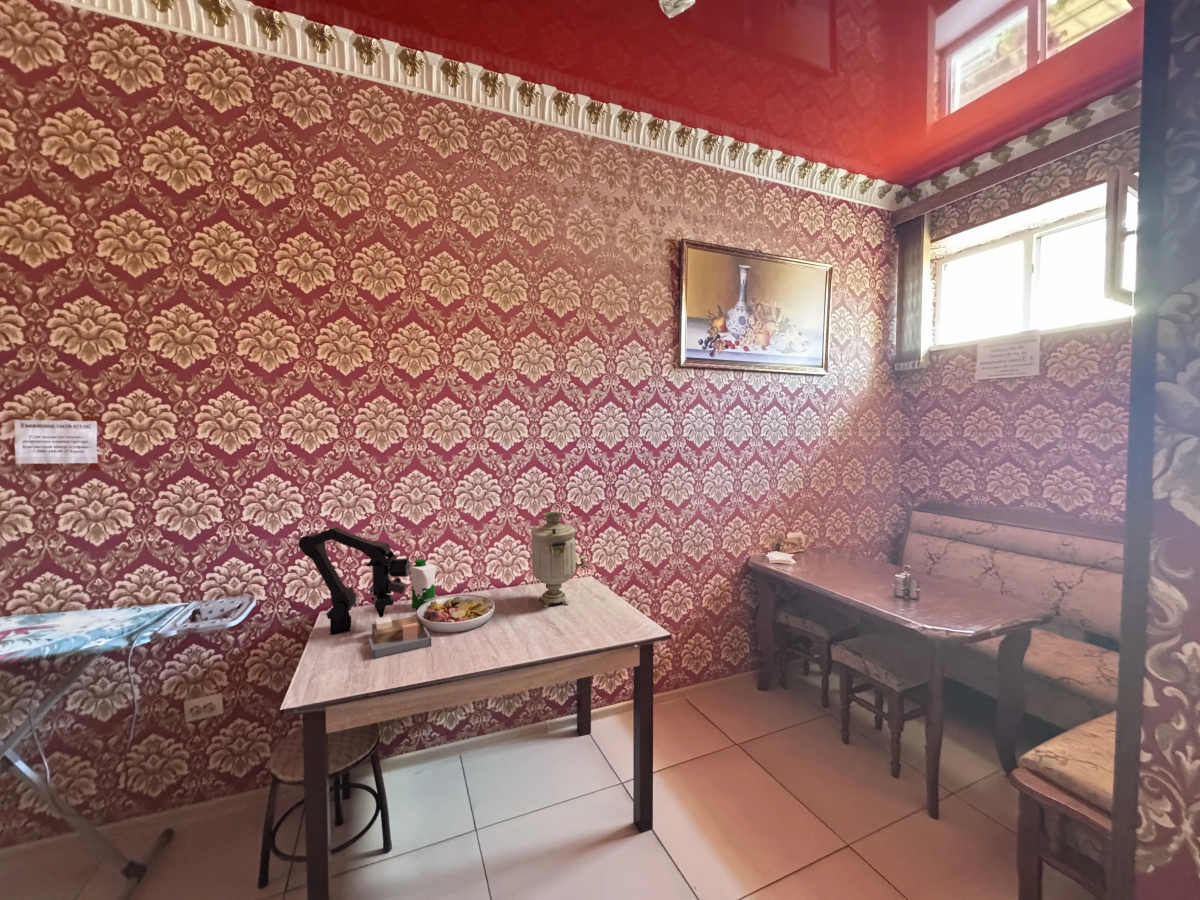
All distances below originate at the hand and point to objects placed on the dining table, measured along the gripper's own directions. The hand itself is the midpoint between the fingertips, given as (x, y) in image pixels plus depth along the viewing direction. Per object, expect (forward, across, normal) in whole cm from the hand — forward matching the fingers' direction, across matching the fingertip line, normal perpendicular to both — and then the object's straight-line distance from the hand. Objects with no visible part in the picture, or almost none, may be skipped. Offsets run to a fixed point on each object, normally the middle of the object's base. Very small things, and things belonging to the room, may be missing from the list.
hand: (381, 616), depth 178 cm
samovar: (+5, -10, -71) cm, 72 cm away
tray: (+5, -18, -4) cm, 19 cm away
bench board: (+5, -8, -4) cm, 10 cm away
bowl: (+5, -4, -27) cm, 28 cm away
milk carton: (+5, +14, -18) cm, 24 cm away
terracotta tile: (+2, -14, -8) cm, 16 cm away
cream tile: (+1, -7, 0) cm, 7 cm away
